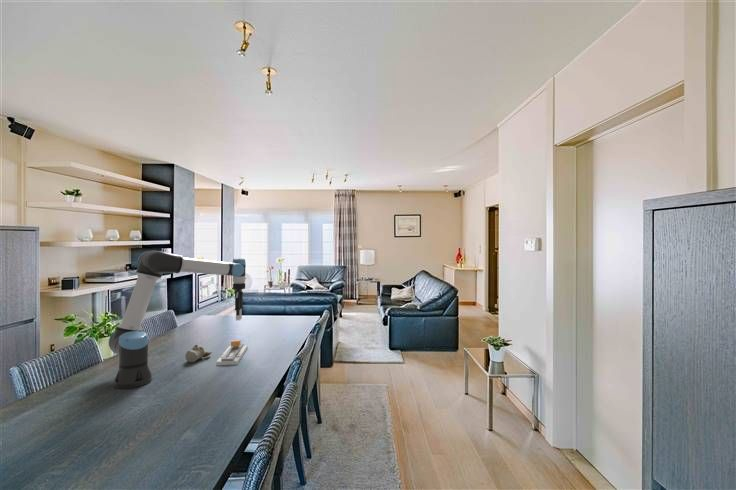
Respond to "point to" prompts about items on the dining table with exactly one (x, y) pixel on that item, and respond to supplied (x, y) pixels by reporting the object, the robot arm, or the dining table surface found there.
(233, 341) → the fader
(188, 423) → the dining table surface
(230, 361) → the console
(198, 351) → the ceramic sculpture
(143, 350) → the robot arm
